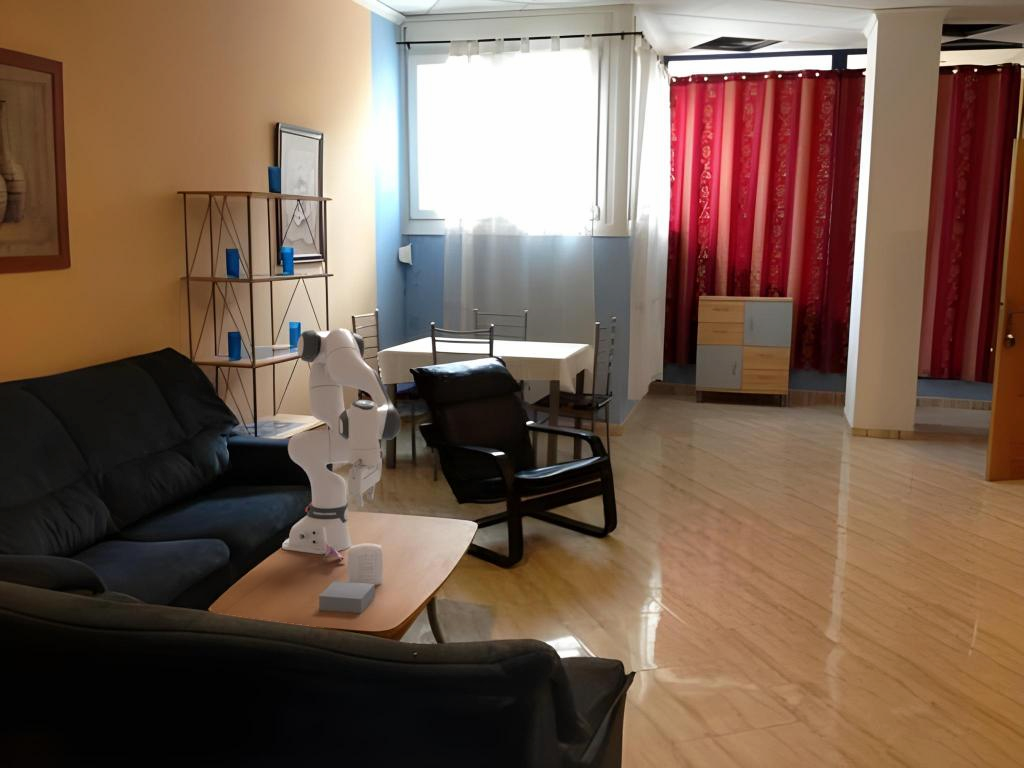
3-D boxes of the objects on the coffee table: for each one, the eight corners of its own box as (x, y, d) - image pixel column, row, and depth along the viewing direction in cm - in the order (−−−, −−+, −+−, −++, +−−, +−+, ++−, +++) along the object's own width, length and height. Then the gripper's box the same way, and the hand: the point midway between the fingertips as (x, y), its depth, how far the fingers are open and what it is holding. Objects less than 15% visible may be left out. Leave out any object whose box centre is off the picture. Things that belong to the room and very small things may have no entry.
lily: (336, 574, 279) (347, 544, 281) (301, 560, 281) (313, 531, 283) (346, 574, 291) (357, 545, 293) (312, 561, 293) (324, 533, 294)
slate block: (319, 609, 250) (319, 595, 250) (334, 594, 262) (334, 581, 261) (361, 613, 248) (361, 599, 248) (374, 597, 260) (374, 583, 260)
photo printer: (382, 580, 274) (382, 540, 272) (383, 585, 270) (383, 545, 268) (347, 582, 272) (347, 542, 270) (348, 587, 268) (347, 547, 266)
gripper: (363, 464, 255) (364, 512, 257) (385, 450, 275) (385, 495, 277) (342, 463, 256) (342, 511, 258) (365, 449, 276) (365, 494, 278)
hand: (364, 502), depth 268 cm, fingers open, 8 cm apart
